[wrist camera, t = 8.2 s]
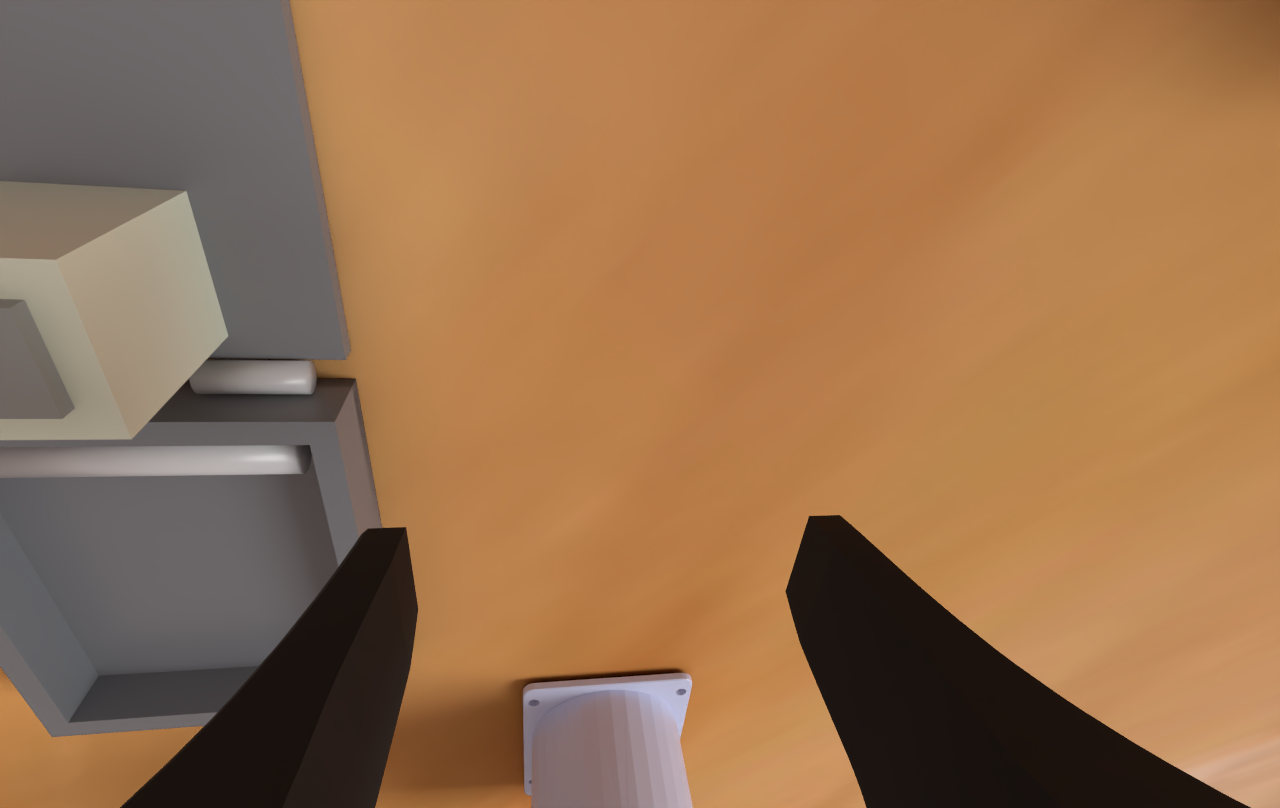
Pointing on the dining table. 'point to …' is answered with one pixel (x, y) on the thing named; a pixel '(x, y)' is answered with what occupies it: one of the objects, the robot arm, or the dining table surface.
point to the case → (174, 552)
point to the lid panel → (190, 155)
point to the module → (98, 308)
